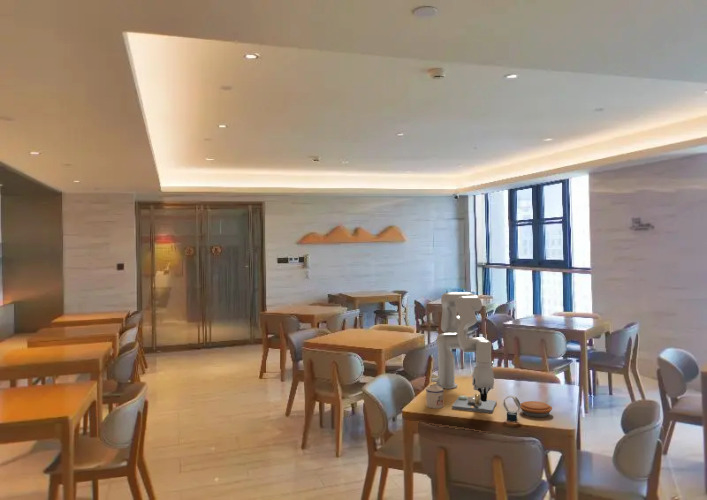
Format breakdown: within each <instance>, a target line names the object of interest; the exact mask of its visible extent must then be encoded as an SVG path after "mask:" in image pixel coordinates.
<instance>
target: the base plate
mask: <svg viewBox="0 0 707 500" xmlns="http://www.w3.org/2000/svg"><path fill="white" fill-rule="evenodd" d="M496 406H497V400H494V399H493V400H492V399H487V401H486V402H483V401H482V403H481V404H480V407H475V405H474V404H470V403H468V396H467V395H458V397H457V399H456V400H455V401H454V403H453V404H452V406H451V409H452V410H459V411H468V412H479V413H485V414H486V413H487V414H493V413H494V410H495V408H496Z"/></svg>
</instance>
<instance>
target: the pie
mask: <svg viewBox="0 0 707 500" xmlns="http://www.w3.org/2000/svg"><path fill="white" fill-rule="evenodd" d="M520 404H521V407H520V409H521V412H522V414H524V415H526V416H527V417H532V418H546V417H547V416H549V414H550V412H552V410H553V407H552V406H551V405H549V404H547V403H546V402H541V401H533V400H532V401H531V400H530V401H523V402H520Z"/></svg>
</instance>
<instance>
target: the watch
mask: <svg viewBox="0 0 707 500" xmlns="http://www.w3.org/2000/svg"><path fill="white" fill-rule="evenodd" d="M509 398H512V399H513V402H514V404H515V405H516V406H515V407H517V408H518V409H517V410H510V409H509V407H508V406H507V404H506V400H507V399H509ZM502 405H503V407H504V410H505V411H506V421H509V422H517V420H518V412H519V411H520V409H521V408H520V407H521V402H520V400H519V399H518V397H517V396H515V395H507V396H505V398H504V400H503V403H502Z"/></svg>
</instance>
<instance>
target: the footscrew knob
mask: <svg viewBox="0 0 707 500" xmlns="http://www.w3.org/2000/svg"><path fill="white" fill-rule="evenodd" d="M467 398H468V403H470V404H474V405H475V407H480V404H481V403H482V401H481V399H480V394H476V393H475V394H474V396H467Z"/></svg>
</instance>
